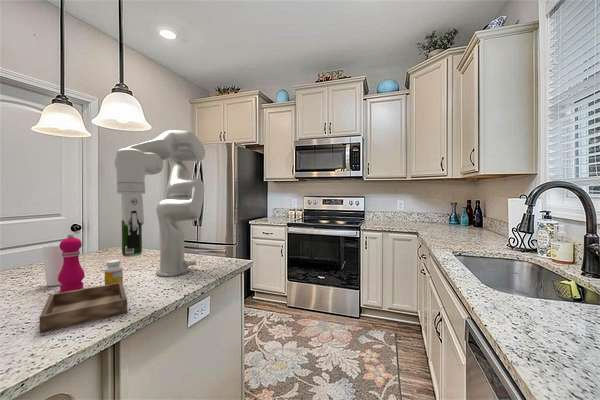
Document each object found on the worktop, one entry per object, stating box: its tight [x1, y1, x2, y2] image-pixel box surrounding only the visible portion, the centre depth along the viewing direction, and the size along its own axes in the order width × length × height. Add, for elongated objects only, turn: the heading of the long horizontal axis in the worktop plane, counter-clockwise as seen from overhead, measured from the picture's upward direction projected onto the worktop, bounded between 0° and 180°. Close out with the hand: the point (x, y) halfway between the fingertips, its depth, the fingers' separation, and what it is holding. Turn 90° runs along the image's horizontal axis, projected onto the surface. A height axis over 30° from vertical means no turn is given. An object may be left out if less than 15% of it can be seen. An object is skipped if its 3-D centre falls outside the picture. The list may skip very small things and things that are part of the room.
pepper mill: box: [58, 232, 86, 293], centre depth 95 cm, size 7×7×20 cm
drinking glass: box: [42, 242, 64, 287], centre depth 100 cm, size 7×7×15 cm
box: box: [39, 282, 128, 334], centre depth 78 cm, size 18×18×4 cm
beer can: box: [121, 216, 143, 258], centre depth 84 cm, size 5×5×12 cm
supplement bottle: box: [104, 259, 124, 285], centre depth 96 cm, size 5×5×10 cm
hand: (131, 245), depth 84 cm, fingers closed on beer can, 5 cm apart
